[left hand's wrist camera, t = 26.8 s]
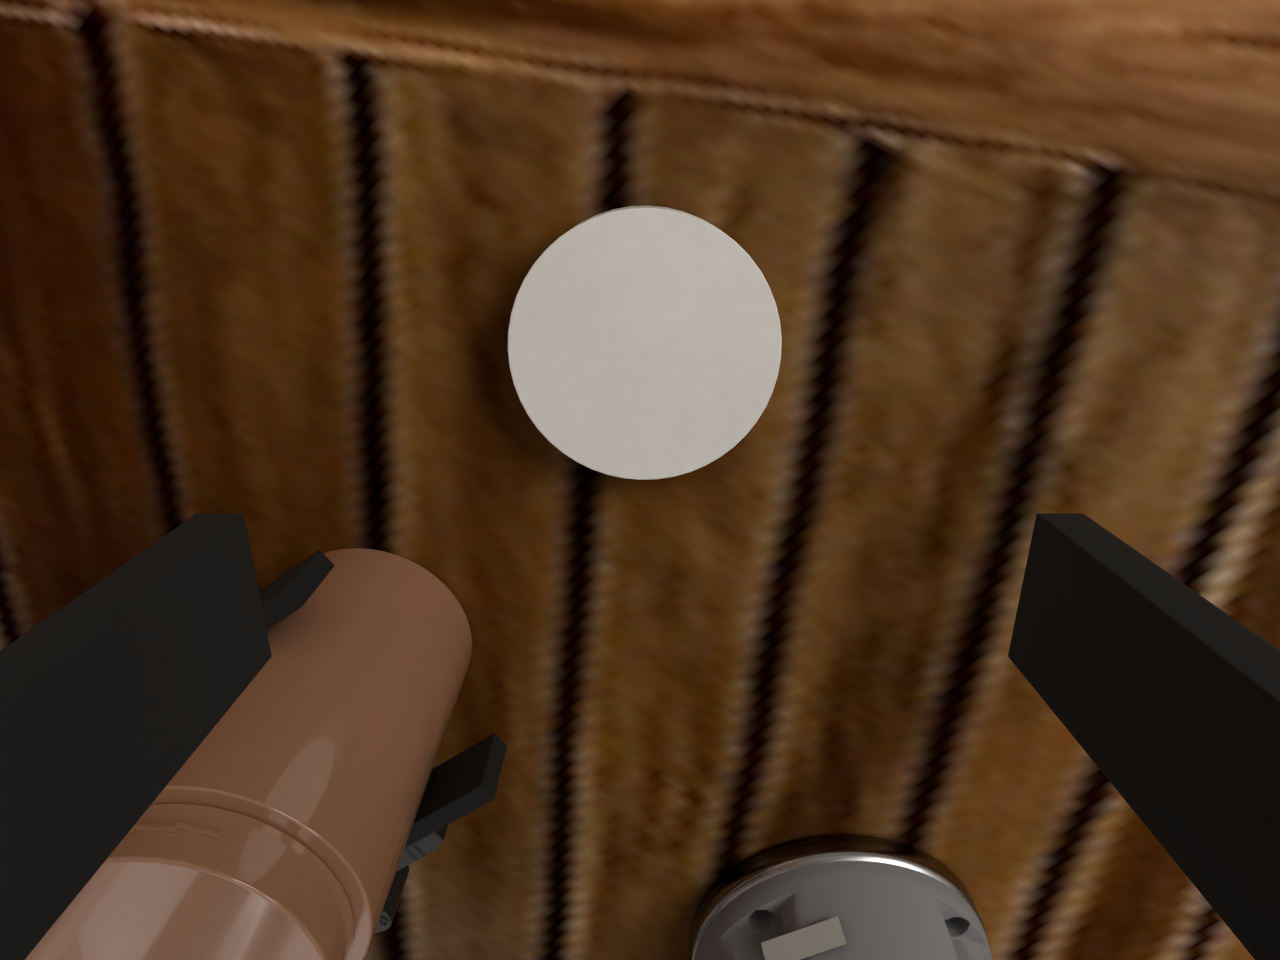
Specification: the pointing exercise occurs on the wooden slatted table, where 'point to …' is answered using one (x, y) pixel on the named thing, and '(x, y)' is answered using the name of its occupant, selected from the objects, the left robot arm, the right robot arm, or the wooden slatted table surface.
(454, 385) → the wooden slatted table surface
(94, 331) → the wooden slatted table surface
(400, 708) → the jar
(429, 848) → the right robot arm
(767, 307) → the lid
